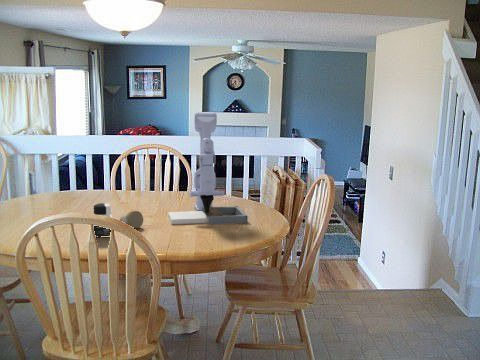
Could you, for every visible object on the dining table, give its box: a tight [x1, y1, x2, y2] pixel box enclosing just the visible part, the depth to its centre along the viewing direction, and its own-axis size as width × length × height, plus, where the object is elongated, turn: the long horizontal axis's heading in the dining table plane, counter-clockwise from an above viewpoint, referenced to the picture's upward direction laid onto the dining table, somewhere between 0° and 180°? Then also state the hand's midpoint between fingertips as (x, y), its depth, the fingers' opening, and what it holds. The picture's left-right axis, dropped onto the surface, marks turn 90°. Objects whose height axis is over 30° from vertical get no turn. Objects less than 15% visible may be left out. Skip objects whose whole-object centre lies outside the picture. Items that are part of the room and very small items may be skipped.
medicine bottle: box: [93, 202, 113, 237], centre depth 191 cm, size 7×7×12 cm
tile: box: [209, 205, 224, 216], centre depth 219 cm, size 6×6×2 cm
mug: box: [119, 210, 144, 230], centre depth 203 cm, size 8×10×10 cm
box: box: [201, 205, 249, 225], centre depth 220 cm, size 17×16×3 cm
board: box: [167, 210, 208, 225], centre depth 216 cm, size 12×15×2 cm
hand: (206, 212), depth 218 cm, fingers closed
